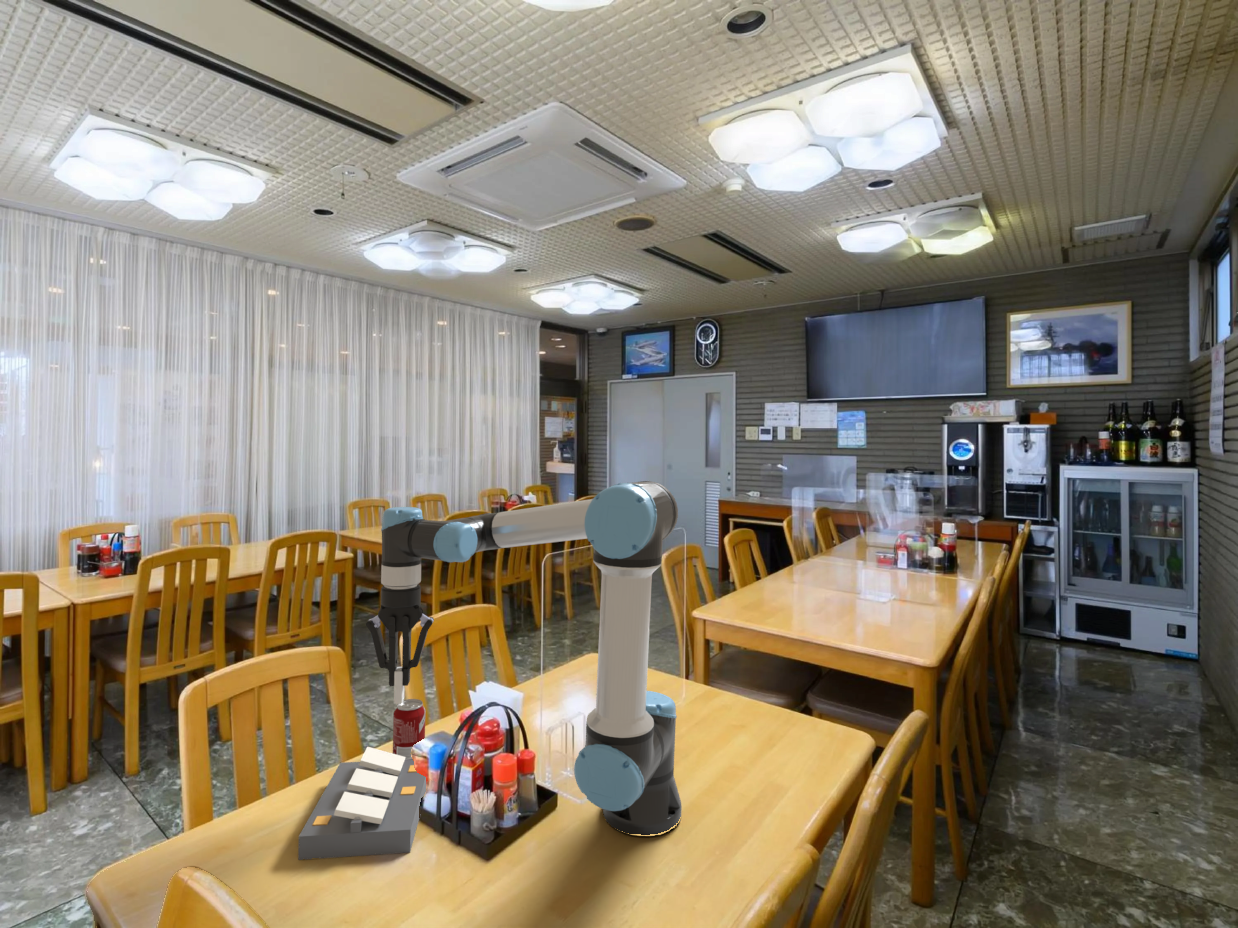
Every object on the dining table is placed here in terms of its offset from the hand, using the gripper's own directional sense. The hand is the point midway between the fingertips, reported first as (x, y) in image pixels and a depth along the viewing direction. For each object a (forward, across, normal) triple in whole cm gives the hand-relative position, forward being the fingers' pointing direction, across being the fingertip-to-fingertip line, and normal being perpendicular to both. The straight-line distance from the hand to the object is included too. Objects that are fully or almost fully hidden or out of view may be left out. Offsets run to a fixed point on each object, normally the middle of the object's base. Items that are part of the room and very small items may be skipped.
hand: (399, 700), depth 124 cm
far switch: (+13, +3, 0) cm, 13 cm away
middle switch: (+13, +3, +8) cm, 15 cm away
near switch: (+13, +3, +16) cm, 21 cm away
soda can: (+18, 0, -13) cm, 23 cm away
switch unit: (+18, +3, +8) cm, 20 cm away
